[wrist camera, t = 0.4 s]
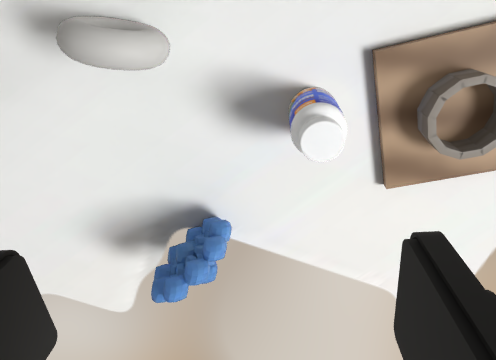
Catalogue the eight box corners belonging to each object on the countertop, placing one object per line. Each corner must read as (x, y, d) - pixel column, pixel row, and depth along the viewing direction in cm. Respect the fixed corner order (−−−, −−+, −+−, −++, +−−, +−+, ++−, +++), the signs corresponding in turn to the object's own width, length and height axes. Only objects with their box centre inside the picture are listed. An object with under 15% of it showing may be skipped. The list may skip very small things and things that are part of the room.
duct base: (372, 50, 37) (382, 56, 33) (543, 9, 34) (576, 11, 31) (383, 184, 44) (393, 201, 40) (527, 159, 41) (552, 175, 37)
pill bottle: (304, 77, 39) (312, 100, 30) (346, 101, 40) (366, 130, 31) (279, 119, 41) (280, 152, 32) (319, 141, 42) (330, 178, 33)
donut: (88, 45, 39) (33, 59, 30) (87, 10, 37) (28, 15, 28) (179, 62, 39) (151, 81, 30) (182, 28, 37) (152, 38, 28)
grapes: (190, 269, 52) (169, 338, 42) (158, 238, 50) (126, 303, 39) (253, 230, 48) (246, 296, 38) (220, 195, 46) (204, 254, 36)
